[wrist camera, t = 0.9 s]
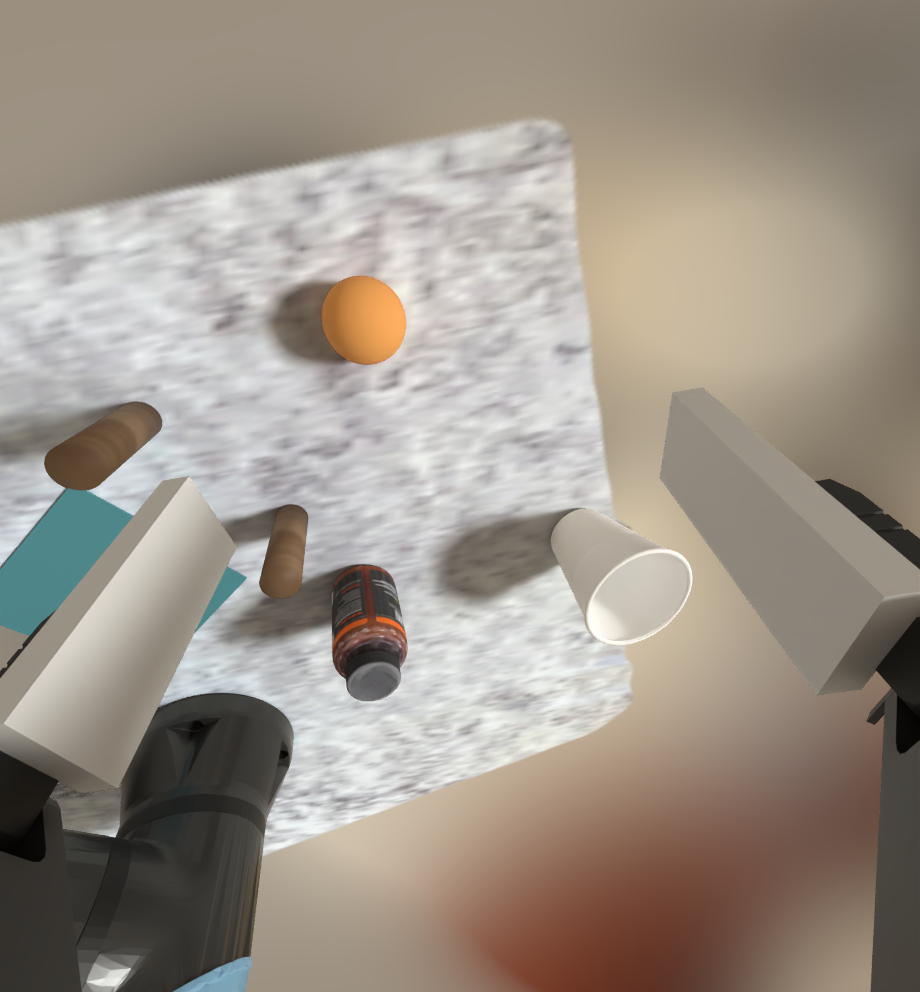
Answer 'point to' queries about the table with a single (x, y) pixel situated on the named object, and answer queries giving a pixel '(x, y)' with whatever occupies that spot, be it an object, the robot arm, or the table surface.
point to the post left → (102, 446)
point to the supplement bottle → (367, 632)
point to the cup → (619, 577)
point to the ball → (363, 320)
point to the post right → (285, 553)
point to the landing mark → (69, 560)
